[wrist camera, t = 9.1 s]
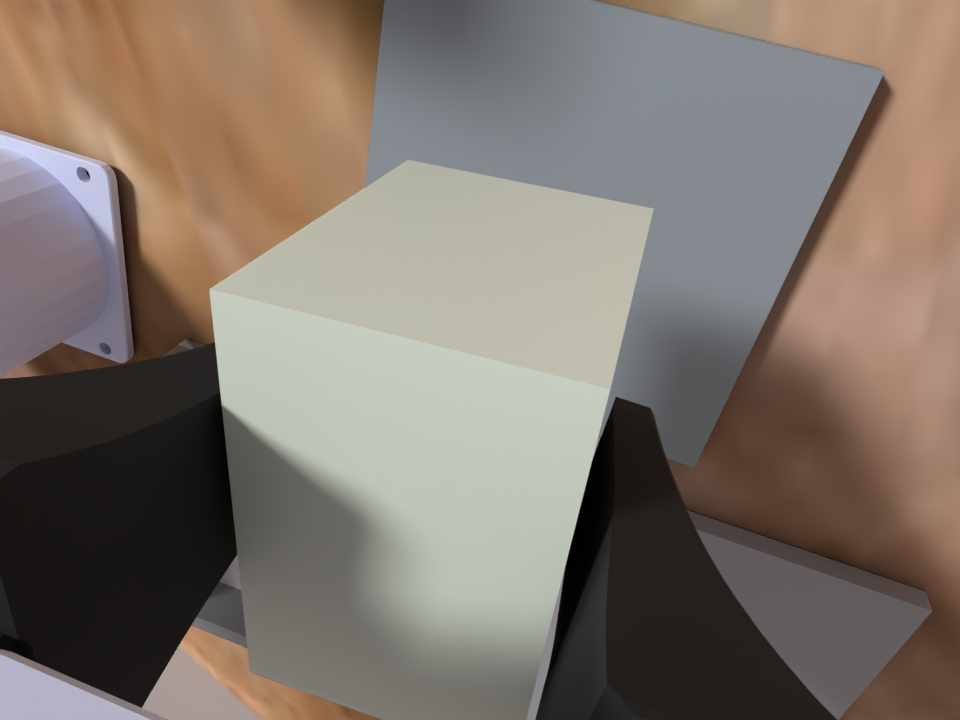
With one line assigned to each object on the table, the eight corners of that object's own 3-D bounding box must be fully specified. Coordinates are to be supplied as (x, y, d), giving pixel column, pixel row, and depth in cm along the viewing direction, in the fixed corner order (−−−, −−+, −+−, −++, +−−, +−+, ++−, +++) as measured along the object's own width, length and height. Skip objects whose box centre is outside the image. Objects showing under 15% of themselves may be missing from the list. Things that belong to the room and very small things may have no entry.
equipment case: (197, 573, 34) (163, 614, 31) (186, 338, 26) (140, 371, 24) (756, 794, 30) (760, 857, 28) (925, 591, 22) (947, 655, 20)
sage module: (391, 455, 16) (250, 672, 11) (407, 159, 13) (209, 289, 8) (578, 508, 16) (513, 767, 11) (653, 208, 12) (610, 389, 7)
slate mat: (355, 344, 24) (348, 352, 24) (398, -48, 18) (389, -49, 17) (694, 456, 22) (694, 468, 22) (879, 68, 16) (884, 71, 15)
